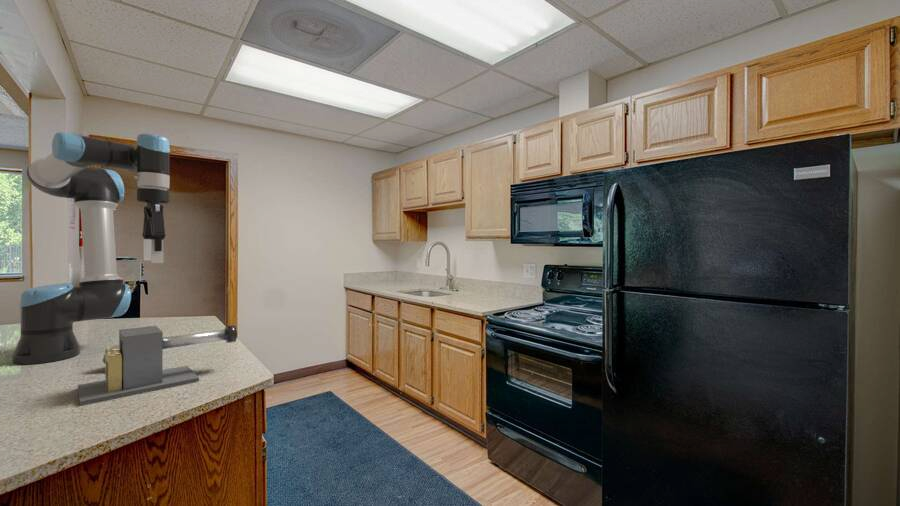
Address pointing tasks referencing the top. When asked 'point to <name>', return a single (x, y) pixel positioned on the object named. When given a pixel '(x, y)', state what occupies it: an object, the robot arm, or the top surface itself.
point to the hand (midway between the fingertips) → (153, 261)
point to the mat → (169, 379)
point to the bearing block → (141, 356)
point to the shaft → (201, 337)
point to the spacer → (113, 369)
